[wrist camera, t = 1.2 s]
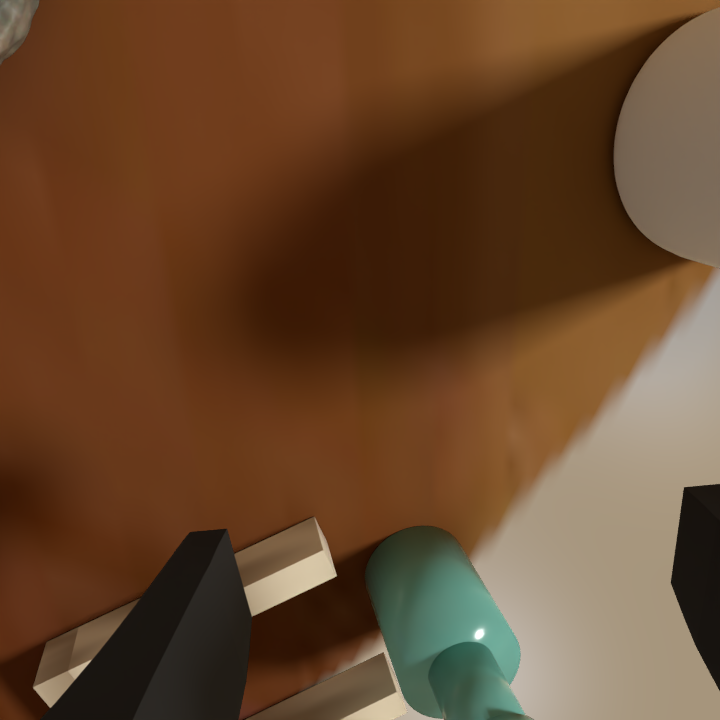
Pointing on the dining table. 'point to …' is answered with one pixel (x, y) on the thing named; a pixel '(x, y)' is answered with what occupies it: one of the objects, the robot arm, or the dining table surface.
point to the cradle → (263, 590)
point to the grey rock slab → (14, 24)
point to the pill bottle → (675, 143)
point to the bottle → (442, 628)
